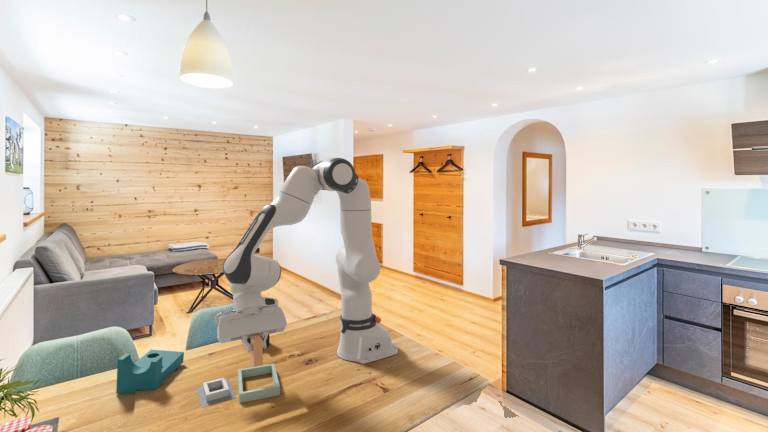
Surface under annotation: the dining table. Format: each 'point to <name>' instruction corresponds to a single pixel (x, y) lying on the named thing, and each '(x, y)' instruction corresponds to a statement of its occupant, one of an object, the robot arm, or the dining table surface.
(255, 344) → the orange rectangular block
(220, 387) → the grey socket base plate
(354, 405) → the dining table surface
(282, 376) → the dining table surface
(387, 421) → the dining table surface
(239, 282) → the robot arm
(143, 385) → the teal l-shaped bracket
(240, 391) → the tray
